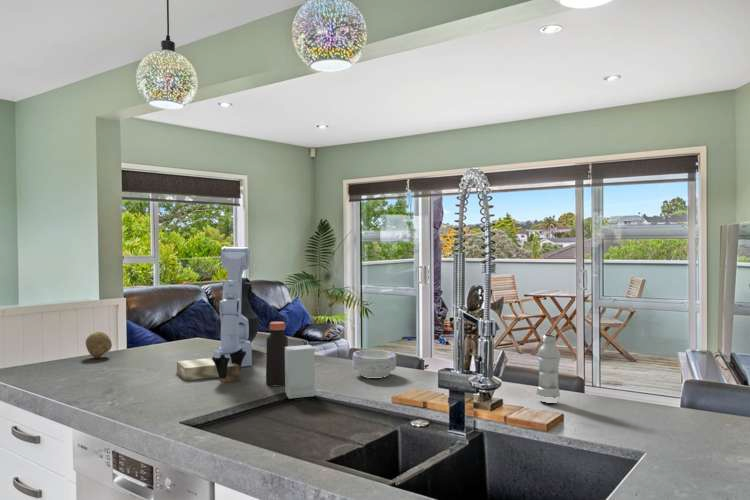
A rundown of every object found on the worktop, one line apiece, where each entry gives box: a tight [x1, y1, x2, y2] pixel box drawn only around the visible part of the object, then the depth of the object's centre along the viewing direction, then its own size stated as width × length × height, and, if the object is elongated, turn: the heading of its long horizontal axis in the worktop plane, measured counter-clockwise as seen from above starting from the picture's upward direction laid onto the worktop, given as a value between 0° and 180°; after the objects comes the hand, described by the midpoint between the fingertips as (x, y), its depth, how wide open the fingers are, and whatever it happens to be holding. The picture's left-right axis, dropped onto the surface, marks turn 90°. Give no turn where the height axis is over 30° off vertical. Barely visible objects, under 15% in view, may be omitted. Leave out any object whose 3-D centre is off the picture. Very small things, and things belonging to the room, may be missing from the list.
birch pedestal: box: [176, 357, 219, 381], centre depth 196 cm, size 12×12×4 cm
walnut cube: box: [219, 363, 240, 383], centre depth 189 cm, size 5×5×5 cm
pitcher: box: [215, 277, 260, 344], centre depth 241 cm, size 17×21×30 cm
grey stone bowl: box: [352, 349, 397, 377], centre depth 199 cm, size 15×15×8 cm
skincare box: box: [284, 344, 316, 400], centre depth 172 cm, size 8×6×15 cm
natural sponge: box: [85, 331, 113, 359], centre depth 220 cm, size 9×9×10 cm
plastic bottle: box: [536, 334, 561, 398], centre depth 169 cm, size 6×7×20 cm
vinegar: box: [265, 321, 289, 386], centre depth 185 cm, size 7×7×20 cm
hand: (229, 375), depth 189 cm, fingers closed on walnut cube, 7 cm apart
